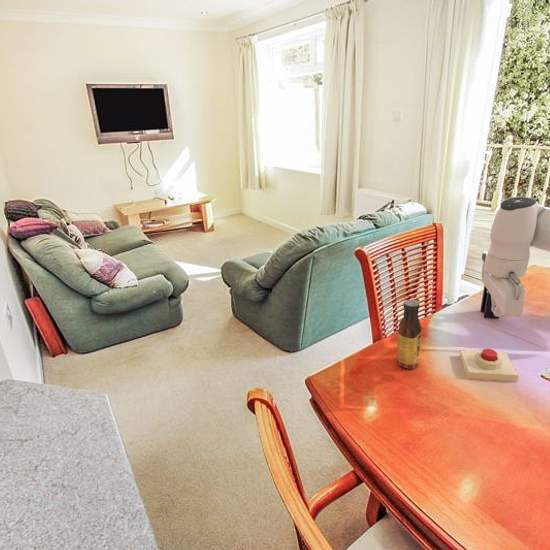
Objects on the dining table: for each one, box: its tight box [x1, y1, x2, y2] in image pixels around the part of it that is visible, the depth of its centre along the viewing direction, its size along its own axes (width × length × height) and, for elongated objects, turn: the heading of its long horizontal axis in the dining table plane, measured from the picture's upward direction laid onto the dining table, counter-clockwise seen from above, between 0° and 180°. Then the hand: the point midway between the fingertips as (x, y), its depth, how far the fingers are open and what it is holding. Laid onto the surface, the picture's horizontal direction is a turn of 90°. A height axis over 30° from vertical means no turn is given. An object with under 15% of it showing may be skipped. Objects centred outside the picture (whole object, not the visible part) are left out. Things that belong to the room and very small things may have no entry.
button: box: [481, 348, 498, 361], centre depth 102 cm, size 4×4×2 cm
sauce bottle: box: [396, 299, 423, 370], centre depth 105 cm, size 6×6×20 cm
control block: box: [459, 349, 520, 383], centre depth 103 cm, size 12×10×4 cm
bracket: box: [479, 284, 500, 320], centre depth 125 cm, size 12×9×12 cm
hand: (496, 313), depth 97 cm, fingers closed
